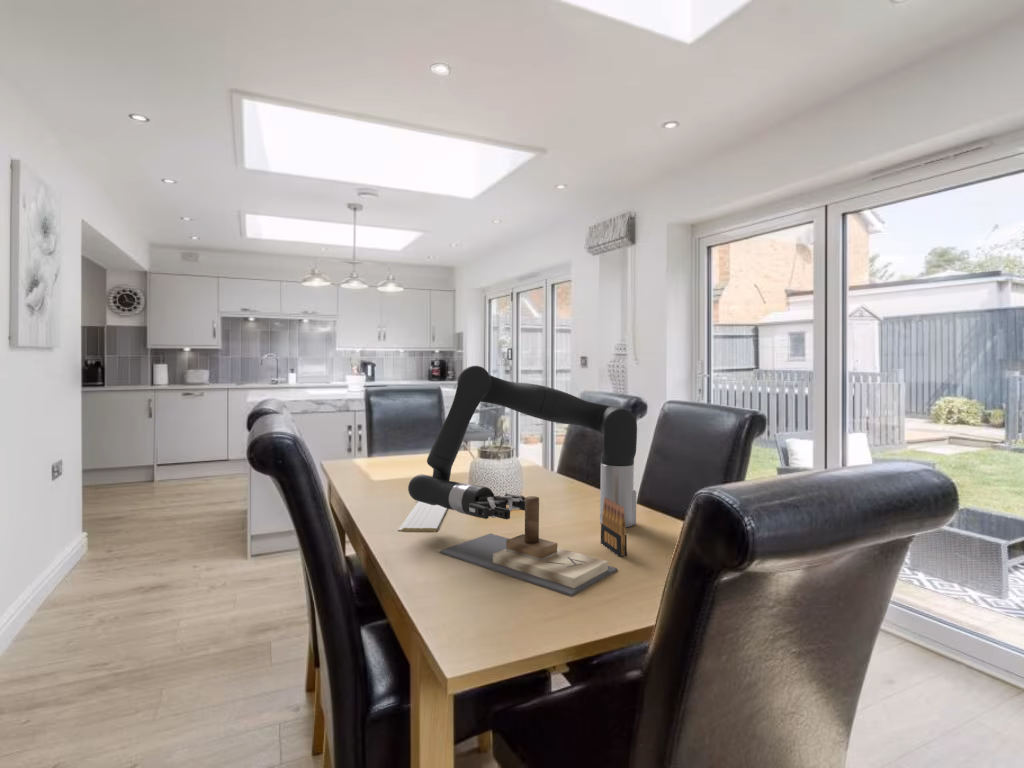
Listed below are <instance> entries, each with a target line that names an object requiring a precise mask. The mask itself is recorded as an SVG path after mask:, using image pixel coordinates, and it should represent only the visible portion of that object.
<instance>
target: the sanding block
mask: <svg viewBox="0 0 1024 768" xmlns="http://www.w3.org/2000/svg"><path fill="white" fill-rule="evenodd" d="M524 497H525V496H524ZM539 536H540V497H538V496H532V495H531V496H529V495H528V496H526V497H525V511H524V533H523V534H520V535H516V536H514V537H512V538H509V539H508V540H506V551H509V552H512V553H515V554H519V555H522V556H526V557H529V558H532V559H536V560H539V561H542V560H545V559H547V558H549V557H552V556H554V555H556V554H557V548H558V542H555V541H550V540H548V539H543V538H540V537H539Z"/></svg>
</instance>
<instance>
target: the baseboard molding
mask: <svg viewBox="0 0 1024 768" xmlns="http://www.w3.org/2000/svg"><path fill="white" fill-rule="evenodd" d="M447 510H448V509H447V508H444V507H442V506H439V505H430V504H427V503H423V502H420V501H417V500H416V505H414V507H413V508H412V510H411V511H410V513H408V515H407V517H406V518H405V520H404V521H403V522H402V524H401V525H400V526H399V528H398V529H397V531H398V530H403V531H402V532H437V531H438V529H439V527H440V525H441V523H442V521H443V519H444V516H445V515H446V512H447Z"/></svg>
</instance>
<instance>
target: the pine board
mask: <svg viewBox="0 0 1024 768" xmlns="http://www.w3.org/2000/svg"><path fill="white" fill-rule="evenodd" d="M493 563H496V564H499V565H502V566H505V567H508V568H512V569H515V570H518V571H521V572H524V573H527V574H530V575H534V576H537V577H540V578H543V579H546V580H549V581H552V582H556V583H559V584H562V585H565V586H568V587H571V588H576V587H578V586H580V585H581V584H583V583H585V582H587V581H589V580H591V579H592V578H594V577H596V576H598V575H600V574H602V573H604V572H605V571H607V570H608V566H609V561H608V560H604V559H600V558H597V557H593V556H589V555H587V554H582V553H579V552H574V551H570V550H568V549H567V550H566V549H564V548H560V547H557V554H556V555H554V556H552V557H549V558H547V559H545V560H542V561H539V560H536V559H532V558H529V557H526V556H522V555H519V554H515V553H512V552H509V551H506V549H504V550H502V551H499V552H496V553H494V554H493Z"/></svg>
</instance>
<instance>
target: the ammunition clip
mask: <svg viewBox="0 0 1024 768" xmlns="http://www.w3.org/2000/svg"><path fill="white" fill-rule="evenodd" d="M627 538H628V537H627V534H626V527H625V514H624V508H623V506H621V508H620V505H619V504H618V505H617V504H616V502H615V503H613V500H612V501H611V502H610V499H608V501H607V498H606V497H605V499H604V505H603V514H602V524H601V523H600V544H601V545H602V544H603V545H602V546H604V547H605V548H606V547H607V549H608V550H609V549H610V550H609V551H611V552H612V553H613V552H614V553H613V554H615V555H616V554H617V555H618V556H617V555H616V556H617V557H619V558H624V556H626V557H627V555H628V551H627V549H628V548H627V545H628V543H627V542H628V541H627V540H628V539H627Z"/></svg>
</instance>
